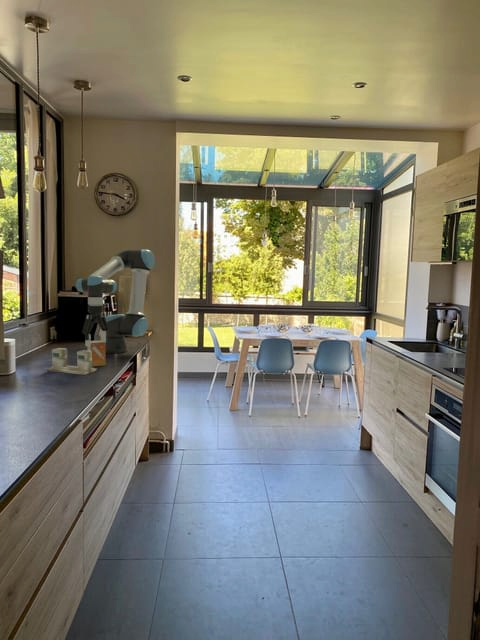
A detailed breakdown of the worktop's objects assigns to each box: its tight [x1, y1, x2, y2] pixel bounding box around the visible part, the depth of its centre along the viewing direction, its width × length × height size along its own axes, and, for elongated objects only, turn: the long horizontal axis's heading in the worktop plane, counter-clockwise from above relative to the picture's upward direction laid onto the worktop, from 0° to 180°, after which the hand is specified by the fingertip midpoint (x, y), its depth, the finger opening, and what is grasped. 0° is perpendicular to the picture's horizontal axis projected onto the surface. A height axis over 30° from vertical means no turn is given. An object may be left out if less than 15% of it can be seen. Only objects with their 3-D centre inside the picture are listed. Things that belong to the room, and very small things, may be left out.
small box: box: [86, 339, 107, 368], centre depth 238 cm, size 8×6×13 cm
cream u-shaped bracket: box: [47, 347, 98, 375], centre depth 225 cm, size 10×22×11 cm, turn 73°
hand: (95, 344), depth 237 cm, fingers open, 13 cm apart
